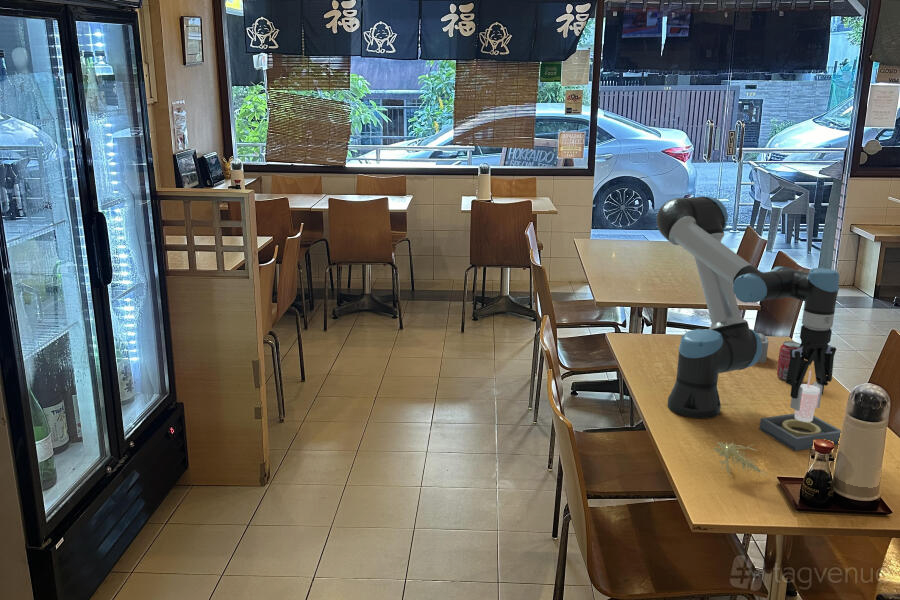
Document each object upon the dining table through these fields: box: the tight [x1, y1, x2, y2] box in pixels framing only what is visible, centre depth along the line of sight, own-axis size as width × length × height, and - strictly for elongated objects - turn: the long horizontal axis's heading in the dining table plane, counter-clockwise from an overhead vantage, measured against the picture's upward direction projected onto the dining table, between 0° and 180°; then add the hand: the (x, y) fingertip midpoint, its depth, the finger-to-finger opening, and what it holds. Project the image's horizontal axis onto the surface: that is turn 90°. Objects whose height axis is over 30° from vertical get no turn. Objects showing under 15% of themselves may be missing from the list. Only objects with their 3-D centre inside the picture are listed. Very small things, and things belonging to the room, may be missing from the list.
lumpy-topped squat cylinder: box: [757, 332, 769, 363], centre depth 288 cm, size 10×13×9 cm
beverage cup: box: [794, 369, 820, 422], centre depth 221 cm, size 6×6×14 cm
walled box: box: [758, 412, 841, 452], centre depth 224 cm, size 16×14×4 cm
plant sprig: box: [714, 441, 768, 478], centre depth 201 cm, size 11×15×9 cm
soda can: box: [776, 340, 801, 381], centre depth 267 cm, size 7×7×12 cm
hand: (804, 407), depth 222 cm, fingers closed on beverage cup, 6 cm apart
